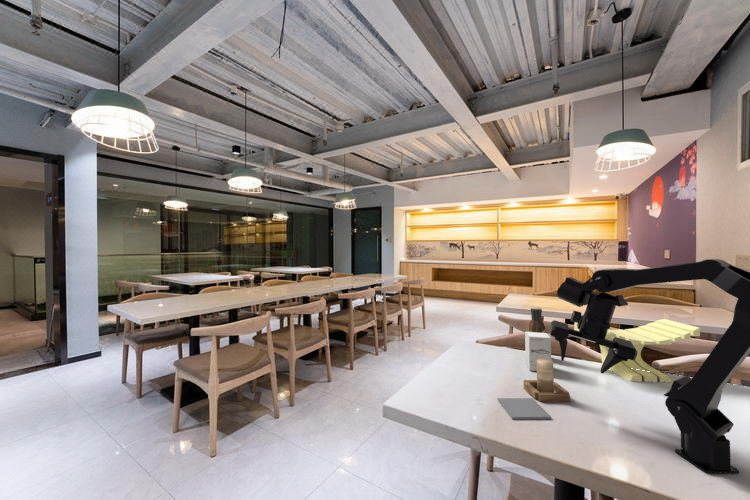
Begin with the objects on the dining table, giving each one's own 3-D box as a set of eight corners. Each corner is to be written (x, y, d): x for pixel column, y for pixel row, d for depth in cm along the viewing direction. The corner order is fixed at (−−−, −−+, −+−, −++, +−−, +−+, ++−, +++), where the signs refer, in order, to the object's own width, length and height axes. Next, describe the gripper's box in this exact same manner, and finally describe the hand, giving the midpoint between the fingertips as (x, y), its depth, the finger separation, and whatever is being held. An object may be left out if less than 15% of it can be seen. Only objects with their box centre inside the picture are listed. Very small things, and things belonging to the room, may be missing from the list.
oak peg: (557, 397, 89) (556, 363, 89) (542, 397, 89) (541, 363, 89) (548, 390, 94) (548, 358, 94) (534, 390, 94) (533, 358, 94)
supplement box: (529, 371, 109) (528, 336, 109) (525, 363, 116) (524, 331, 116) (552, 373, 107) (551, 337, 107) (546, 365, 114) (546, 332, 114)
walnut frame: (572, 401, 86) (572, 394, 86) (537, 401, 86) (537, 394, 87) (552, 386, 96) (552, 380, 96) (521, 386, 96) (521, 380, 97)
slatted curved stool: (659, 364, 113) (658, 317, 113) (701, 382, 97) (699, 327, 97) (575, 363, 116) (573, 316, 116) (602, 380, 100) (601, 327, 100)
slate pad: (551, 419, 78) (551, 416, 78) (512, 419, 78) (512, 416, 78) (532, 400, 88) (532, 398, 88) (497, 400, 88) (497, 398, 88)
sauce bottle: (549, 360, 119) (548, 310, 119) (532, 359, 120) (530, 309, 121) (543, 354, 126) (542, 307, 126) (527, 354, 127) (526, 306, 127)
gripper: (633, 314, 82) (615, 364, 85) (555, 295, 90) (542, 341, 93) (647, 331, 72) (626, 386, 76) (558, 308, 80) (543, 359, 84)
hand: (581, 366), depth 82 cm, fingers open, 9 cm apart
